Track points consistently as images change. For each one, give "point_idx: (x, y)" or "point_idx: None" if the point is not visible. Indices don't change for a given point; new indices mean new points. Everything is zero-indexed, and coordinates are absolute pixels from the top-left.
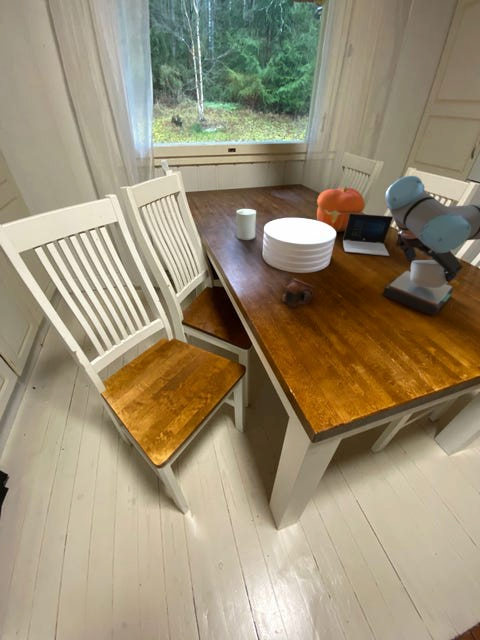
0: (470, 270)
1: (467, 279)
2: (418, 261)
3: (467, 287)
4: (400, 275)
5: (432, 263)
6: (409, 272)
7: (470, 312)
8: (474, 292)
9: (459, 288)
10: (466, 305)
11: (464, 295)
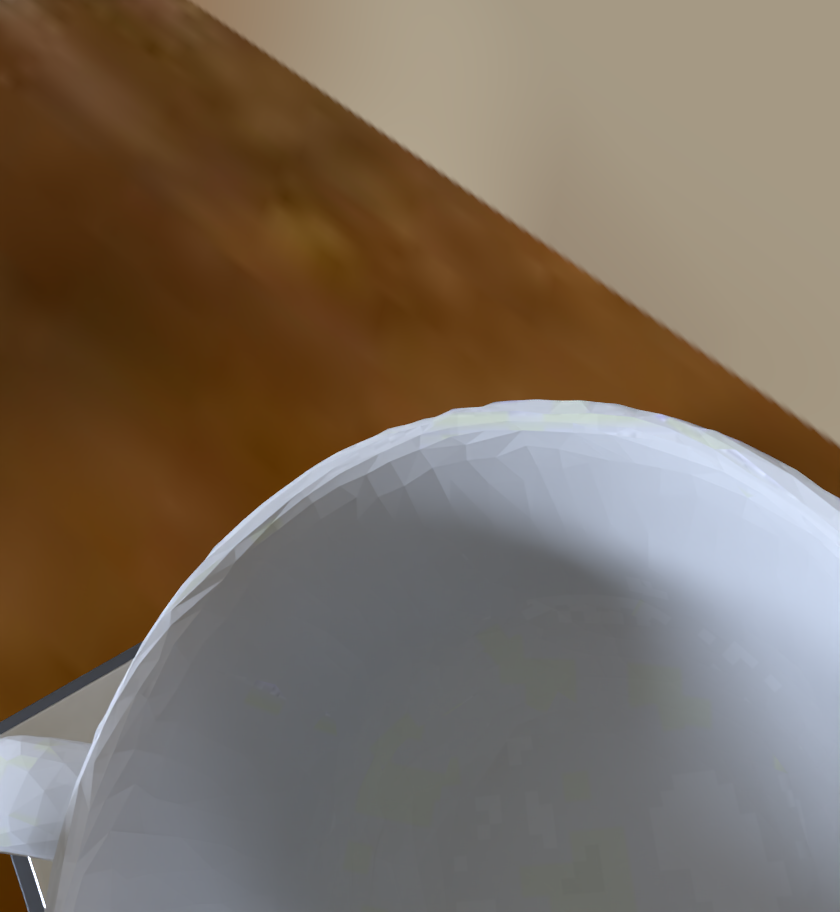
0: (181, 23)
1: (294, 124)
2: (90, 888)
3: (409, 206)
4: (31, 896)
5: (265, 593)
6: (52, 736)
7: (830, 474)
8: (496, 210)
9: (409, 275)
10: (703, 421)
11: (530, 316)
